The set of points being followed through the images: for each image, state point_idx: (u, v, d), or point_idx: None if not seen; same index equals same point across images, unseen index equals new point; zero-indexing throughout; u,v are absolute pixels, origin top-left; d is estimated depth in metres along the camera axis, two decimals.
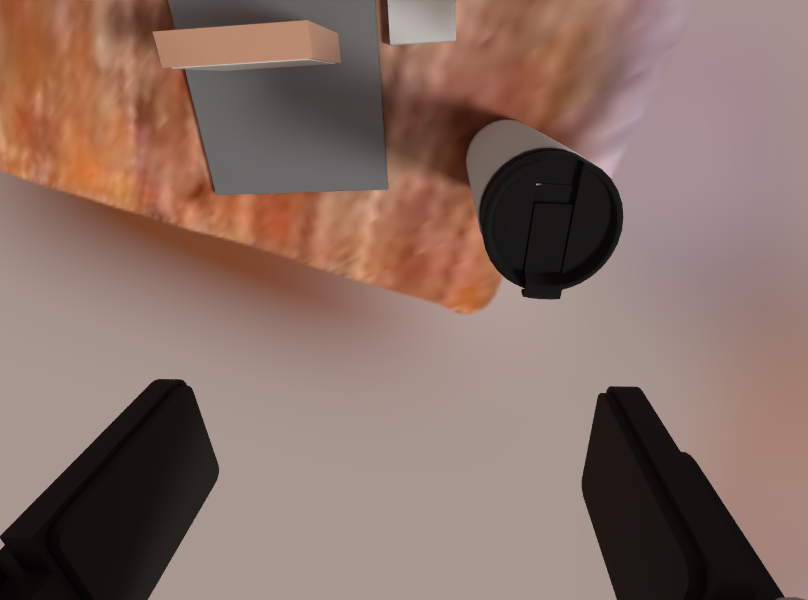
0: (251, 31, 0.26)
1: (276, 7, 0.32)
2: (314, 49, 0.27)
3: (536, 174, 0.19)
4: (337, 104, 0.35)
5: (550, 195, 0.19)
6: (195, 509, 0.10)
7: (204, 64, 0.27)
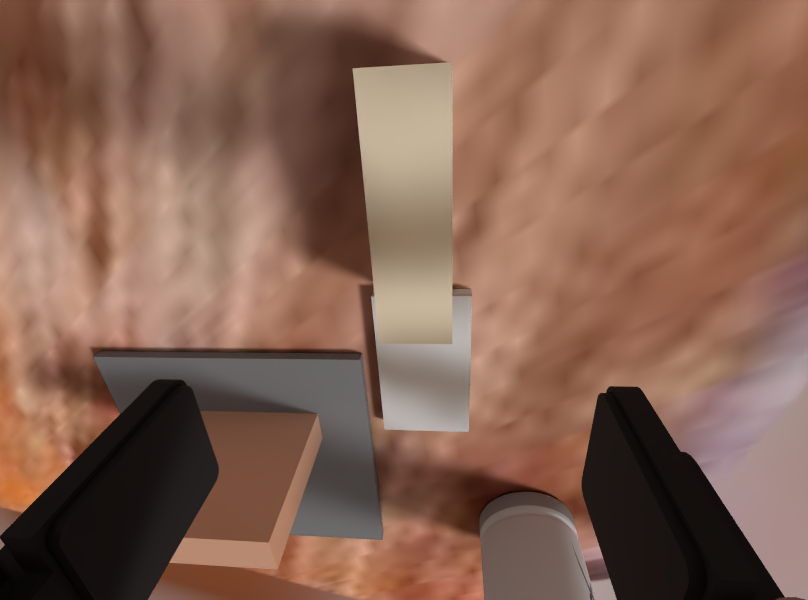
0: (193, 543, 0.19)
1: (238, 386, 0.25)
2: (280, 548, 0.20)
3: None
4: (319, 470, 0.28)
5: None
6: (195, 509, 0.10)
7: None
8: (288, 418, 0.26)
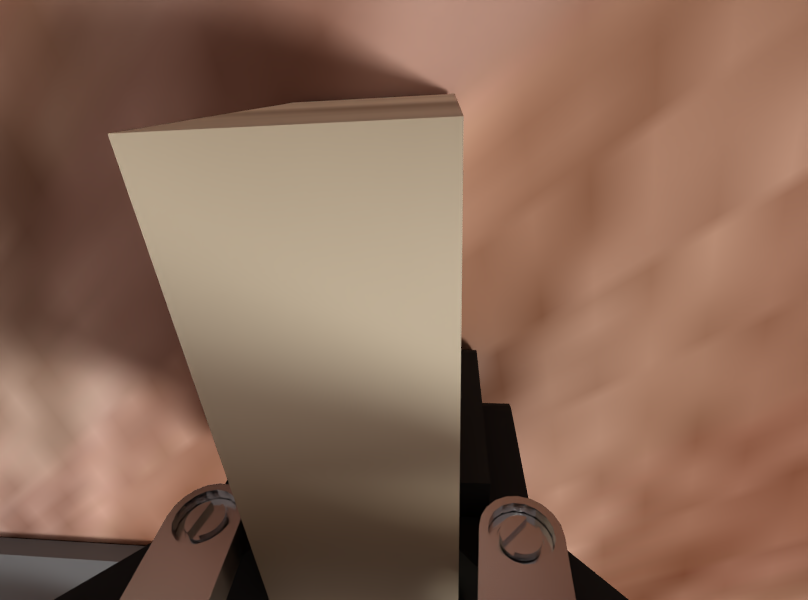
0: None
1: None
2: None
3: None
4: None
5: None
6: None
7: None
8: None
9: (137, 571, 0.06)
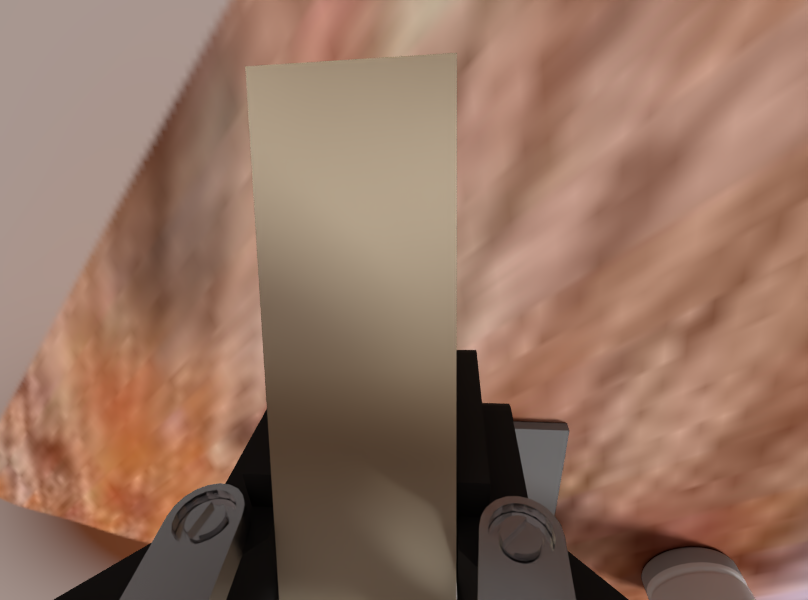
0: None
1: None
2: None
3: None
4: None
5: None
6: None
7: None
8: None
9: (137, 571, 0.06)
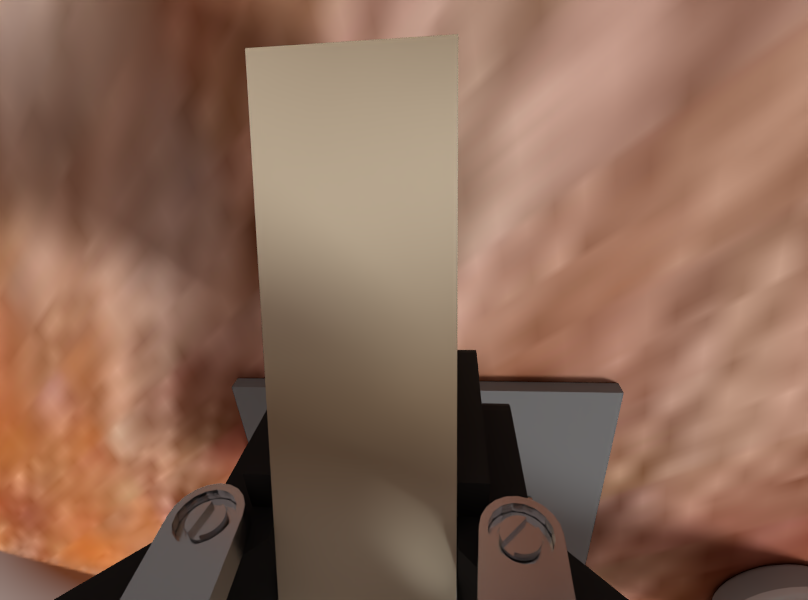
0: None
1: None
2: None
3: None
4: None
5: None
6: None
7: None
8: None
9: (137, 571, 0.06)
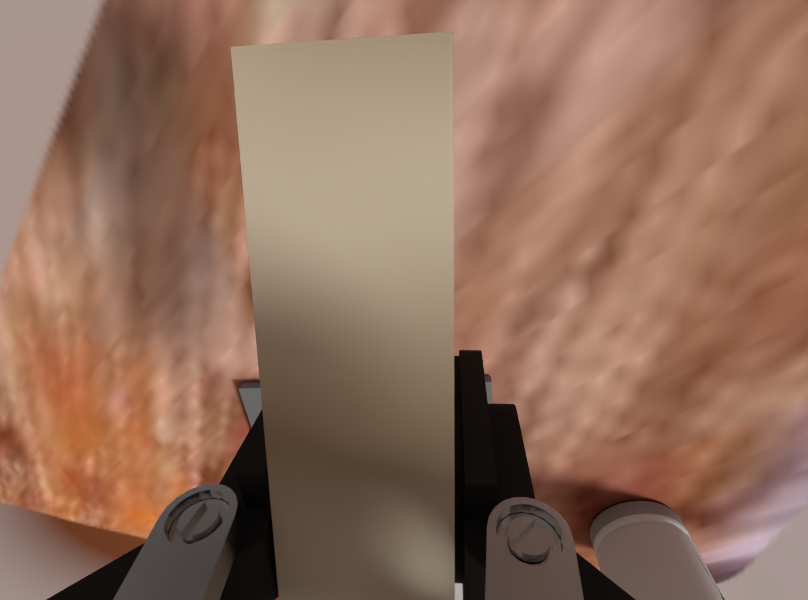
0: None
1: None
2: None
3: None
4: None
5: None
6: None
7: None
8: None
9: (130, 572, 0.06)
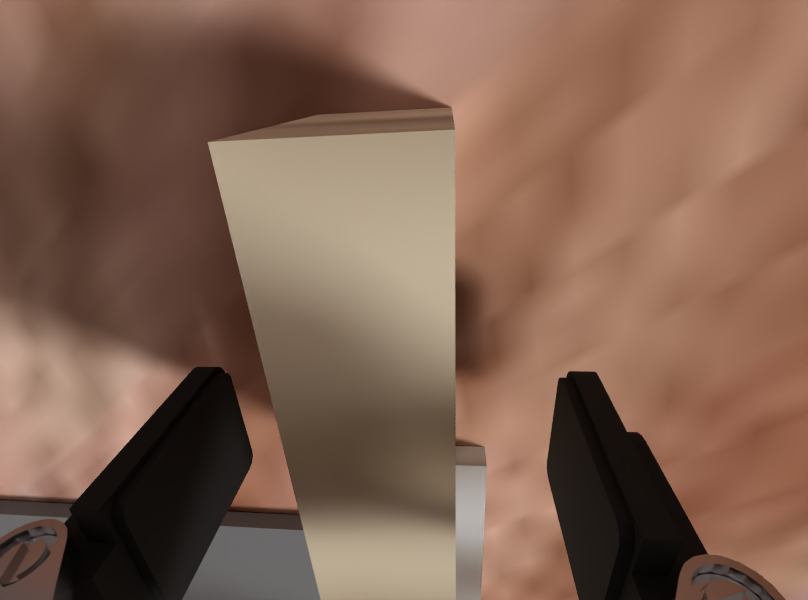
0: None
1: None
2: None
3: None
4: None
5: None
6: (233, 492, 0.10)
7: None
8: None
9: None
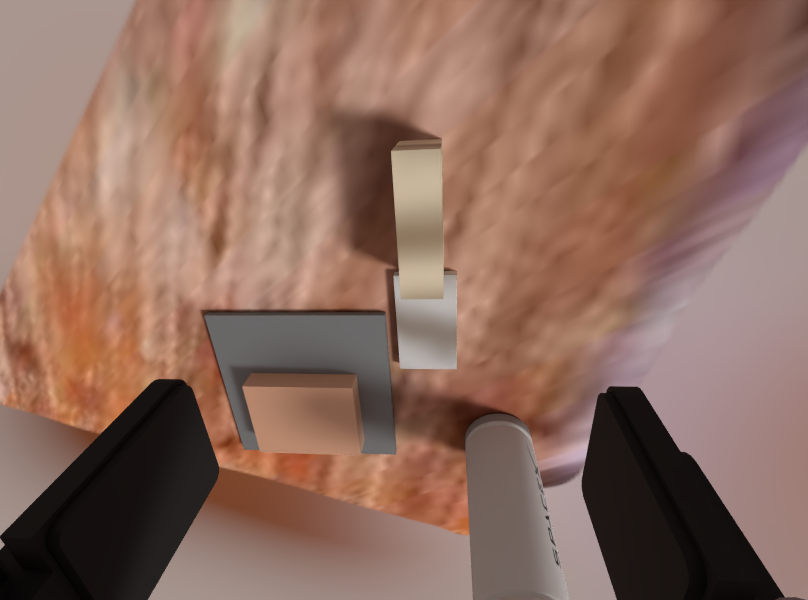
0: None
1: (301, 335, 0.38)
2: (363, 438, 0.42)
3: None
4: None
5: None
6: (195, 509, 0.10)
7: None
8: (333, 391, 0.37)
9: None
